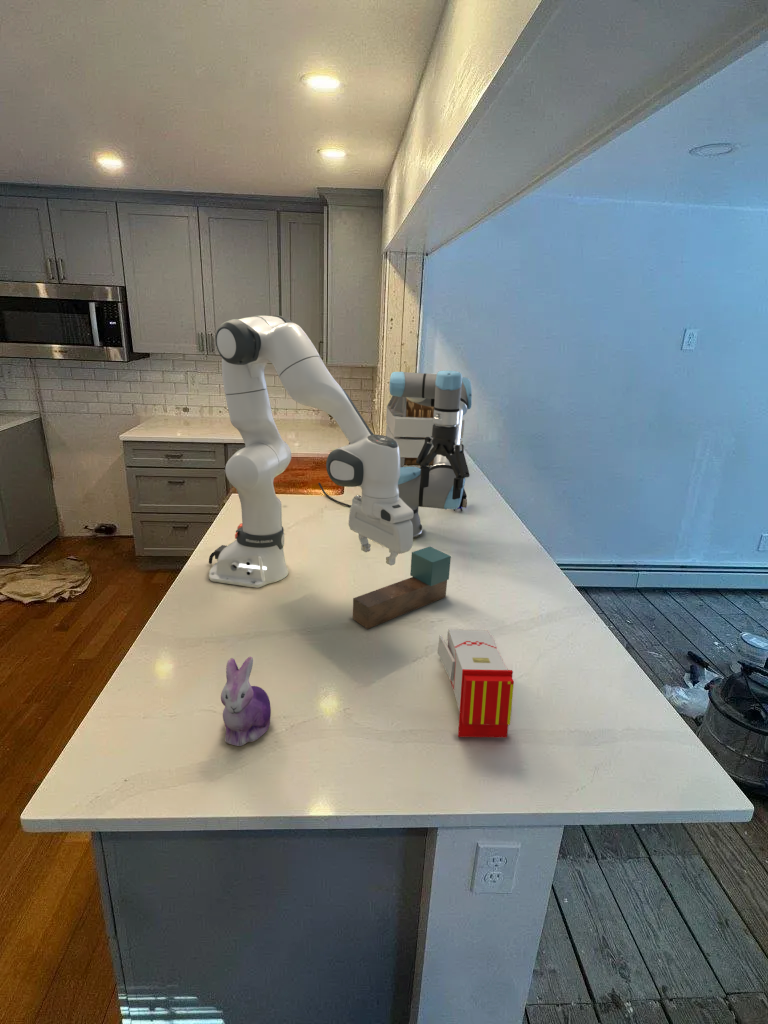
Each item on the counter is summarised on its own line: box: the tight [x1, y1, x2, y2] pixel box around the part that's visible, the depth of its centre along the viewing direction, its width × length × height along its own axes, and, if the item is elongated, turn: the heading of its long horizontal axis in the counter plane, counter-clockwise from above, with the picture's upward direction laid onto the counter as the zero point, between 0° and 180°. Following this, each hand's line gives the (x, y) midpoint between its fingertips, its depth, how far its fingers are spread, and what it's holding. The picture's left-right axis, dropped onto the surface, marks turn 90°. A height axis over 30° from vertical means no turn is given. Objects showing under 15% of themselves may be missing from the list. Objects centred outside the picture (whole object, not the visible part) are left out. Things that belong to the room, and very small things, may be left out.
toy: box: [437, 628, 515, 738], centre depth 117 cm, size 12×13×30 cm
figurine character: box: [452, 488, 468, 512], centre depth 228 cm, size 7×8×15 cm
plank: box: [352, 576, 448, 630], centre depth 150 cm, size 28×6×6 cm, turn 131°
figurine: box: [220, 656, 272, 747], centre depth 102 cm, size 9×10×15 cm
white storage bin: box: [385, 395, 465, 467], centre depth 268 cm, size 34×33×41 cm
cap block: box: [410, 546, 452, 586], centre depth 154 cm, size 7×8×7 cm
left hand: (377, 557), depth 139 cm, fingers open, 8 cm apart
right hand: (439, 492), depth 175 cm, fingers open, 13 cm apart
